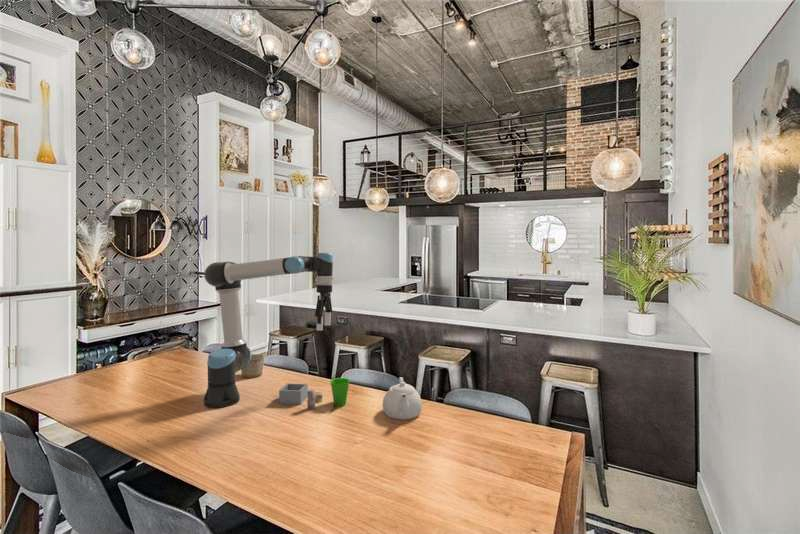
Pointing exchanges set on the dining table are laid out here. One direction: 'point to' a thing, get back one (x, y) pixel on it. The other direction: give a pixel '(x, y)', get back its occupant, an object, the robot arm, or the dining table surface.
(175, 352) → the dining table surface
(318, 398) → the maple block
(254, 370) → the planter
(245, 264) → the robot arm
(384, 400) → the teapot
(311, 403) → the lid
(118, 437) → the dining table surface
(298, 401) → the grey open box
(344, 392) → the cup
